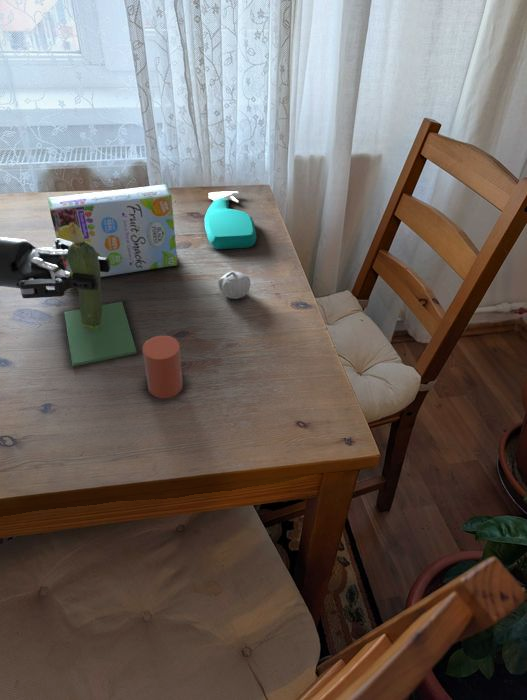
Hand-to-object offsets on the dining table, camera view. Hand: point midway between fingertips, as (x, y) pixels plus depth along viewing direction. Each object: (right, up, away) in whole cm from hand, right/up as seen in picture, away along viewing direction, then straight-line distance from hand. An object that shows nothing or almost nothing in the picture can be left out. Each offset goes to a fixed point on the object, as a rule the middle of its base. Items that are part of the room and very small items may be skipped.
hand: (103, 273), depth 80 cm
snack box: (-3, +5, +24) cm, 24 cm away
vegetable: (-3, -8, +8) cm, 12 cm away
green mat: (-3, -9, +8) cm, 13 cm away
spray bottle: (+16, +18, +39) cm, 46 cm away
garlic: (+19, -1, +18) cm, 26 cm away
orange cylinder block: (+10, -17, 0) cm, 20 cm away
